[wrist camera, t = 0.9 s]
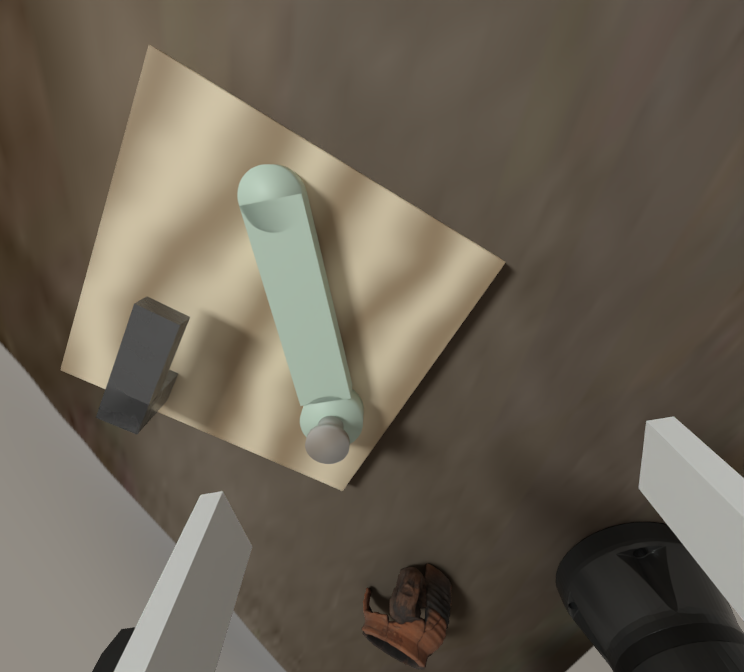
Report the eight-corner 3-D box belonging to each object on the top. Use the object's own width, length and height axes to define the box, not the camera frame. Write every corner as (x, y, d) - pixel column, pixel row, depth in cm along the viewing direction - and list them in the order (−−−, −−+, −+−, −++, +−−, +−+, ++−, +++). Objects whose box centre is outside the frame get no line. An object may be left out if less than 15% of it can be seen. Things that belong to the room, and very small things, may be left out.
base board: (499, 257, 29) (532, 282, 23) (343, 479, 38) (337, 538, 32) (161, 51, 24) (89, 12, 18) (73, 361, 33) (5, 405, 27)
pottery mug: (459, 601, 46) (437, 685, 41) (387, 568, 50) (358, 641, 45) (457, 559, 39) (430, 655, 33) (372, 524, 43) (336, 605, 37)
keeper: (207, 302, 29) (179, 325, 25) (167, 400, 33) (136, 434, 29) (169, 283, 29) (134, 303, 24) (132, 385, 32) (96, 417, 28)
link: (368, 428, 33) (368, 443, 31) (312, 436, 34) (308, 452, 32) (306, 157, 25) (301, 156, 23) (232, 172, 25) (220, 173, 23)
